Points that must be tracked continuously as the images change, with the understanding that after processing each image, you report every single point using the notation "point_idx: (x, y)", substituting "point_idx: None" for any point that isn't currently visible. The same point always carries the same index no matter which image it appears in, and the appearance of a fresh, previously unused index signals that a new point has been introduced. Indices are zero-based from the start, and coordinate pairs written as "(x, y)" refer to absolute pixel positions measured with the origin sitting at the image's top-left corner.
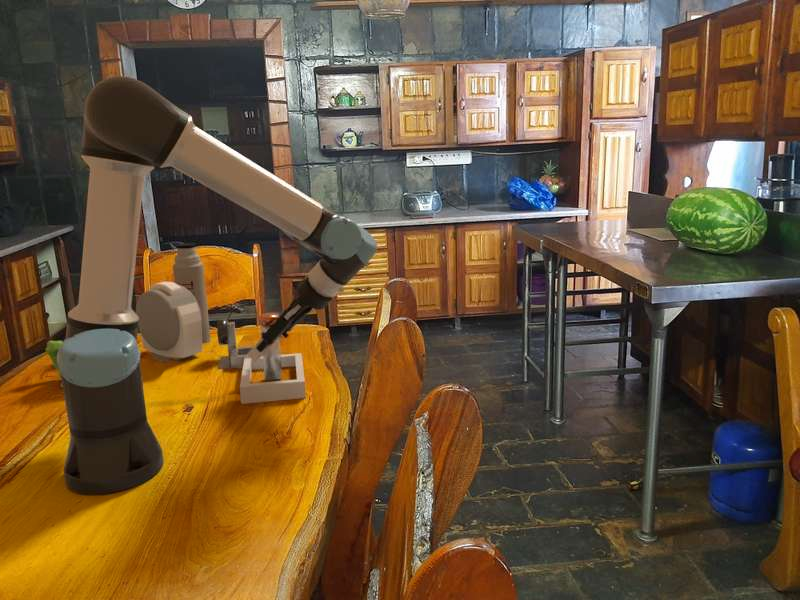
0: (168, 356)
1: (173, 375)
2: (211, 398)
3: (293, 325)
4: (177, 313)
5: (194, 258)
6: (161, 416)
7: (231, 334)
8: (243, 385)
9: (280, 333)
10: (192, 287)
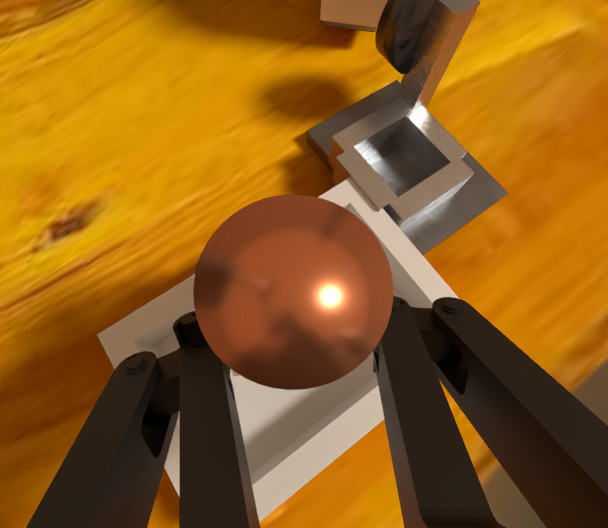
0: None
1: (259, 57)
2: (147, 234)
3: (458, 402)
4: None
5: None
6: (12, 196)
7: (428, 49)
8: (114, 337)
9: (144, 521)
10: None
